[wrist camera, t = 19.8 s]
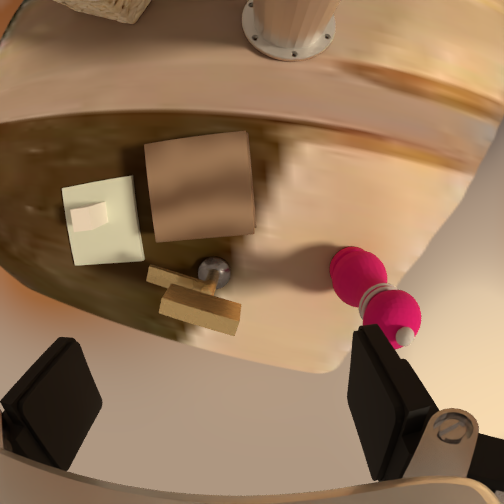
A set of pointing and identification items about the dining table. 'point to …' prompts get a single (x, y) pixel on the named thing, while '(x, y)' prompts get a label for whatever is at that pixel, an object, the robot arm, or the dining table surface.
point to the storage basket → (109, 8)
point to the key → (195, 300)
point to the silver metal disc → (218, 265)
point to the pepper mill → (375, 295)
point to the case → (201, 187)
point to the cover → (103, 222)
